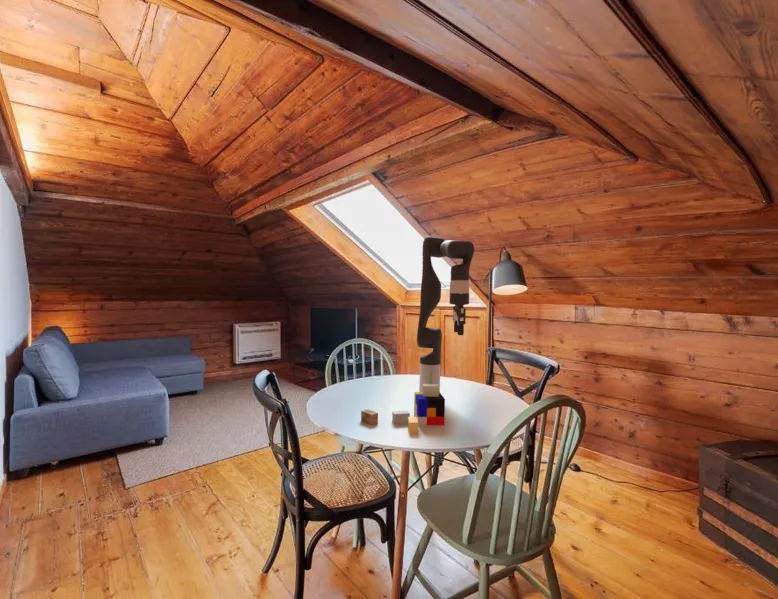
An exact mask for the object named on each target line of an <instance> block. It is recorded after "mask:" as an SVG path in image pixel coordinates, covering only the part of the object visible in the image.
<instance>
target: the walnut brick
mask: <svg viewBox="0 0 778 599" xmlns="http://www.w3.org/2000/svg"><path fill="white" fill-rule="evenodd" d="M360 416H361V418H360V421H361V422H363V423H365V424H368V425H370V426H373V425H377V424H378V423H379V413H378V412H377V411H374V410H371V409H363V410H361V412H360Z"/></svg>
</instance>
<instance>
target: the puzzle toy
mask: <svg viewBox="0 0 778 599" xmlns="http://www.w3.org/2000/svg"><path fill="white" fill-rule="evenodd" d="M445 402H446V398H445V397H444V396H443V394H442V393H441V391H440V392H439V397H424V396H423V394H422V392H419V391H414V402H413V403H414V404H413V405H414V407H413V417H417V420H418V427H419V426H445V414H446V413H445V411H446V410H445V409H446V408H445V407H446V405H445V404H446V403H445Z"/></svg>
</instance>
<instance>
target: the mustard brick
mask: <svg viewBox="0 0 778 599" xmlns="http://www.w3.org/2000/svg"><path fill="white" fill-rule="evenodd" d="M407 429H408V434H419V426H418V420H417V417H414V416H410V417H408V424H407Z"/></svg>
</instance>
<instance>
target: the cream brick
mask: <svg viewBox="0 0 778 599" xmlns="http://www.w3.org/2000/svg"><path fill="white" fill-rule="evenodd" d="M422 394H423V396H424V397H439V385H438V384H423V391H422Z"/></svg>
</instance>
